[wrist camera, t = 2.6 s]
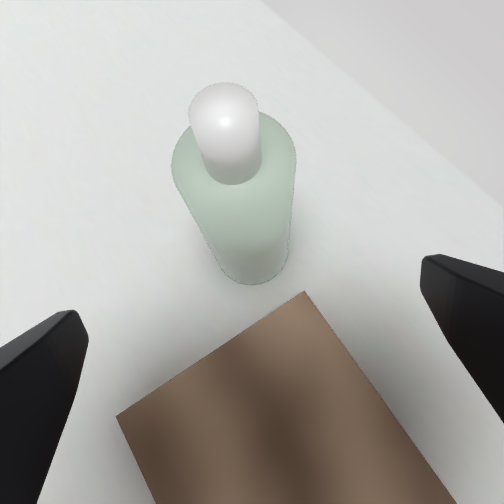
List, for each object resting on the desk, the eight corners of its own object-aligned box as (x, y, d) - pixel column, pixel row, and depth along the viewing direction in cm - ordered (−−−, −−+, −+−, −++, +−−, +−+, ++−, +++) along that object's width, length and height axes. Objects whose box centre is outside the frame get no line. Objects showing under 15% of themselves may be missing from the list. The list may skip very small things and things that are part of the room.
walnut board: (239, 660, 16) (237, 679, 15) (123, 413, 19) (115, 416, 18) (446, 496, 17) (456, 503, 16) (303, 294, 21) (304, 290, 20)
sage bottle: (241, 298, 21) (195, 208, 9) (203, 241, 22) (121, 97, 10) (302, 259, 22) (333, 125, 10) (262, 204, 23) (246, 28, 11)
